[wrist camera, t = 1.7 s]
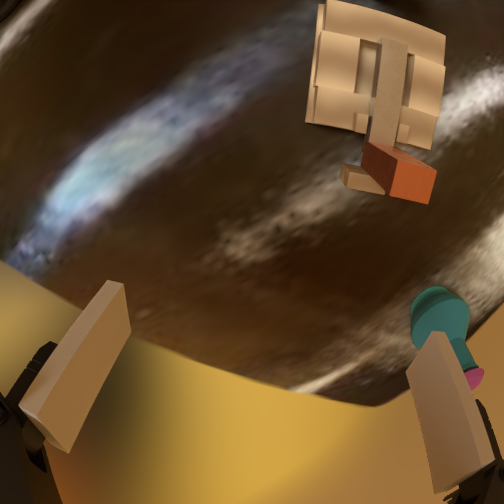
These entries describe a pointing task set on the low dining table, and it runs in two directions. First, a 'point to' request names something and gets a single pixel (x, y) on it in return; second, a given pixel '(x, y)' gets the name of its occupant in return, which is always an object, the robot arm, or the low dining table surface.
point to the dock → (361, 77)
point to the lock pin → (392, 130)
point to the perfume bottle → (445, 326)
